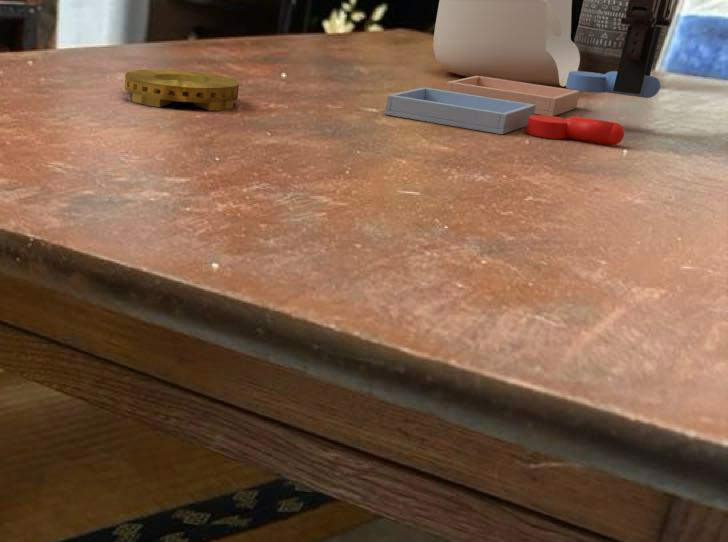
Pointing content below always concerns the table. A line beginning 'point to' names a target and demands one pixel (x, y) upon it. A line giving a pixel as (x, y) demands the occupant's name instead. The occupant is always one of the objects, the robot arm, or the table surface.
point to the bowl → (507, 40)
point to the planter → (603, 35)
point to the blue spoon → (608, 83)
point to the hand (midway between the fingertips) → (629, 90)
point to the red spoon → (575, 129)
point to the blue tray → (460, 110)
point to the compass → (181, 88)
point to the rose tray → (519, 93)
